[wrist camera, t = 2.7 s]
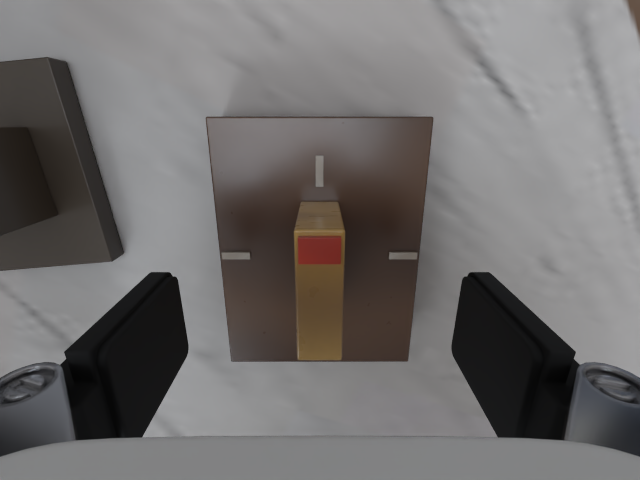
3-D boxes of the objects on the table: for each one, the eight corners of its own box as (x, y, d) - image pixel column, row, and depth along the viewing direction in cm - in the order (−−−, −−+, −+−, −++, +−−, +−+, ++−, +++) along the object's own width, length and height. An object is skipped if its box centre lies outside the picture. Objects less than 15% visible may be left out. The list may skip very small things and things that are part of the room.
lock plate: (398, 335, 21) (408, 363, 19) (240, 335, 21) (230, 364, 19) (418, 117, 17) (435, 116, 15) (220, 117, 17) (203, 116, 15)
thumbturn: (336, 303, 18) (342, 365, 13) (302, 303, 18) (296, 365, 13) (338, 201, 16) (345, 232, 11) (300, 201, 16) (292, 232, 11)
